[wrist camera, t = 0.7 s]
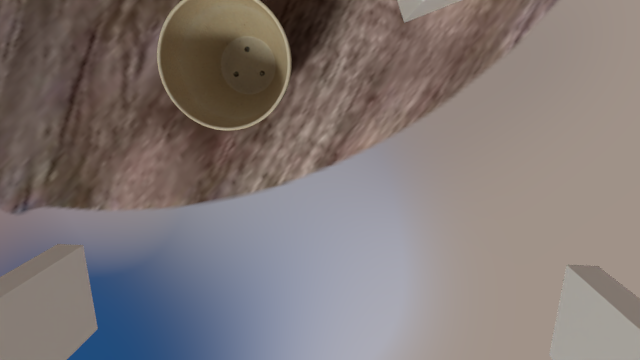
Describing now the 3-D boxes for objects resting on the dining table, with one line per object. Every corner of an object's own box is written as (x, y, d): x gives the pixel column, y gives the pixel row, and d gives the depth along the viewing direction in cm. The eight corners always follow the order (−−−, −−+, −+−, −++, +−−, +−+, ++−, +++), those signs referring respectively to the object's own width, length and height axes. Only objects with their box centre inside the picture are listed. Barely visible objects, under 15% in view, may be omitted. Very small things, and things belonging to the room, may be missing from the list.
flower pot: (287, -8, 33) (269, -32, 26) (315, 107, 35) (305, 113, 28) (180, 22, 34) (137, 8, 27) (214, 131, 36) (181, 143, 30)
